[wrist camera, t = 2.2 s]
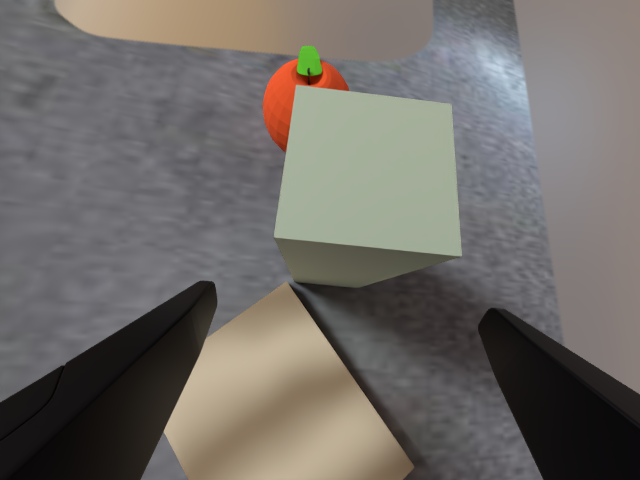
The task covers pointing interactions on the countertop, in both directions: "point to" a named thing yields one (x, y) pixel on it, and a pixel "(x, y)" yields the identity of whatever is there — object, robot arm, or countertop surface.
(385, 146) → the green block
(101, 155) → the countertop surface
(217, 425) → the birch board
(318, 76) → the clementine
